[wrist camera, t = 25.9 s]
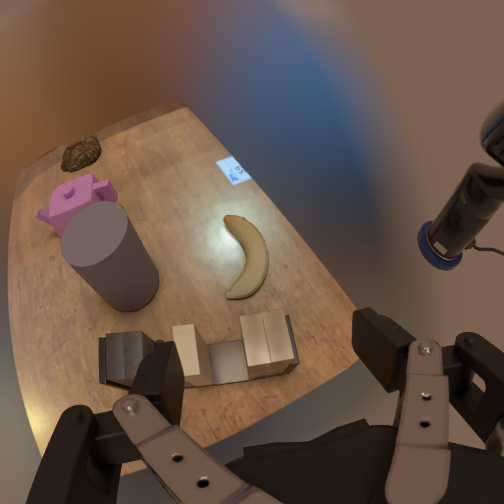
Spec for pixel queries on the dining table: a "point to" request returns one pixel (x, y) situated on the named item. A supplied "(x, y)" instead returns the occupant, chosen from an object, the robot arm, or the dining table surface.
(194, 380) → the cream book
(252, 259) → the fruit
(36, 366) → the dining table surface
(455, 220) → the robot arm
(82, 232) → the grey upright cylinder
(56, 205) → the teapot
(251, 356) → the book rack
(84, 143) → the bread roll
